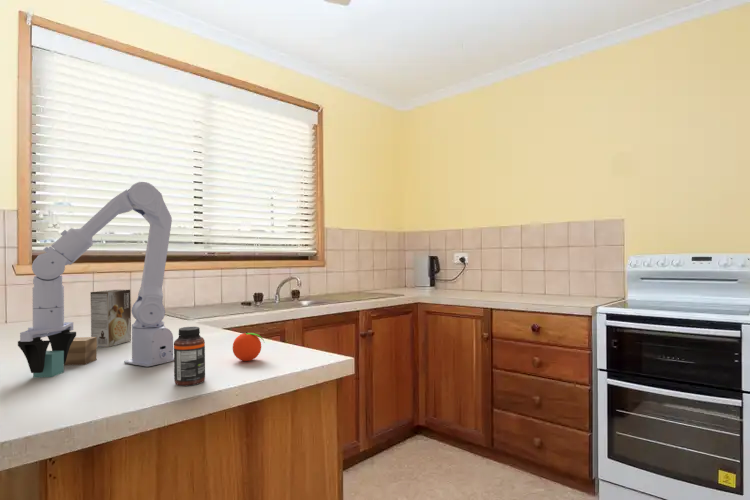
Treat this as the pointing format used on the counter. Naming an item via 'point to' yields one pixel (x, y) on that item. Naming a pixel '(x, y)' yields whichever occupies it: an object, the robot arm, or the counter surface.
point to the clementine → (247, 346)
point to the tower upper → (83, 344)
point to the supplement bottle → (189, 357)
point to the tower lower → (81, 358)
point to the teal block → (52, 364)
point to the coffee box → (111, 317)
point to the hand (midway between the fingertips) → (48, 368)
